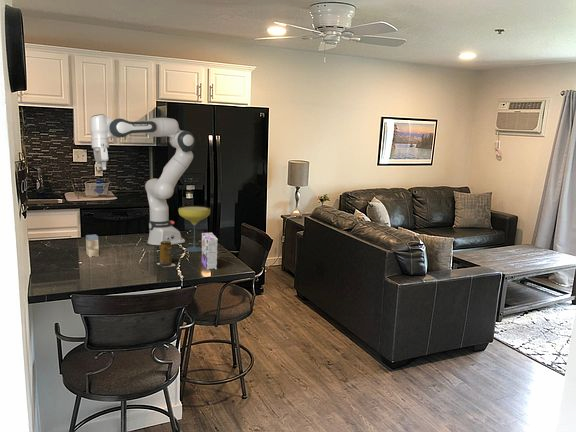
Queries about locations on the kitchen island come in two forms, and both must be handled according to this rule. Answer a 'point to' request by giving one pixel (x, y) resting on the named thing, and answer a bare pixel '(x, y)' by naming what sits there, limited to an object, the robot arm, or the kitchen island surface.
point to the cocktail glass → (194, 219)
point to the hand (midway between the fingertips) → (102, 169)
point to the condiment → (166, 254)
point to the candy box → (209, 251)
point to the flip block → (92, 245)
